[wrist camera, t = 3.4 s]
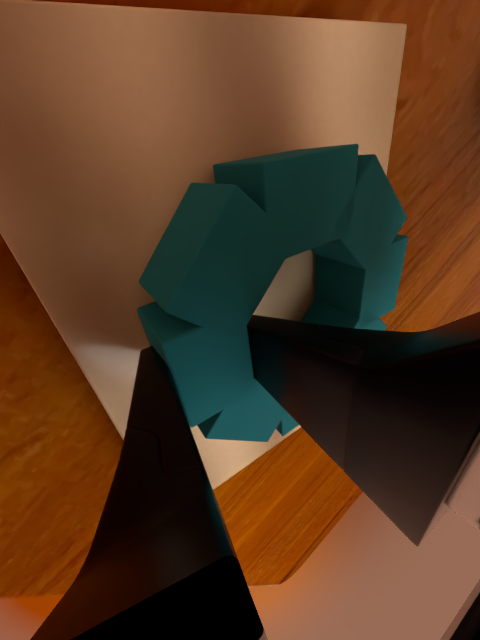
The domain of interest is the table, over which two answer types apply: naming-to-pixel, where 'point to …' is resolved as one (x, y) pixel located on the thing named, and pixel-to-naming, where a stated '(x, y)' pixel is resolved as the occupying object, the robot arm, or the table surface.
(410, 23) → the table surface
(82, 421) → the table surface
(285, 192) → the ring
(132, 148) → the board
